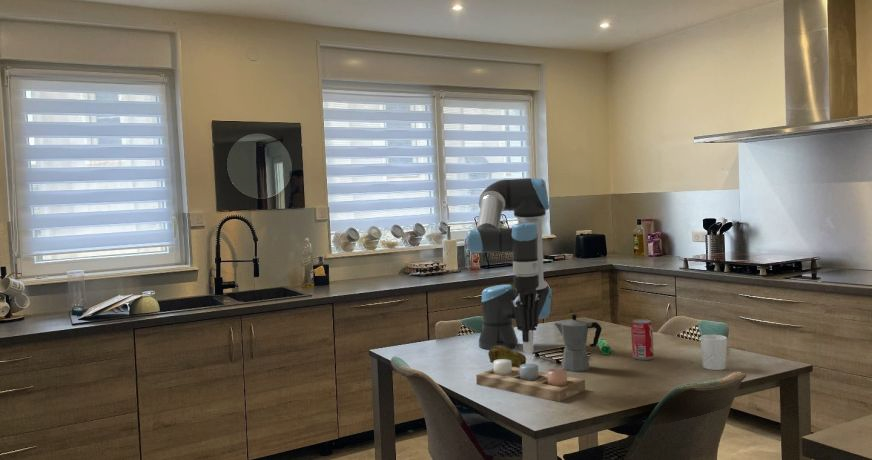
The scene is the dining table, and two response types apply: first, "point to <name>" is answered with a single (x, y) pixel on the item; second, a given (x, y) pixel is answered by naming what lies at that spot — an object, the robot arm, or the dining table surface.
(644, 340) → the soda can
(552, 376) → the pink egg
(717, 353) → the white cup
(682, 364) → the dining table surface
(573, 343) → the coffeepot
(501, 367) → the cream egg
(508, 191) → the robot arm
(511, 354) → the potato
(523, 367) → the slate egg
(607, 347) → the candy
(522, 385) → the wooden egg rack
